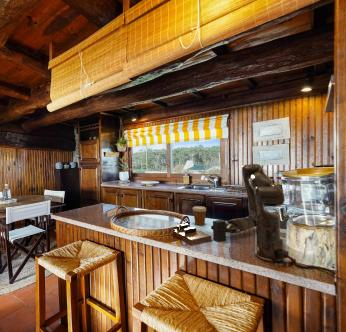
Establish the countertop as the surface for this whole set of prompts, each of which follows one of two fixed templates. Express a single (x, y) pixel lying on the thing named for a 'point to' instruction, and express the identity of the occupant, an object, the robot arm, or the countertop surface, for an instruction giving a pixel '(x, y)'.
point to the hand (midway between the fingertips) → (216, 229)
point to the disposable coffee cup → (199, 215)
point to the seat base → (191, 235)
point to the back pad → (216, 230)
